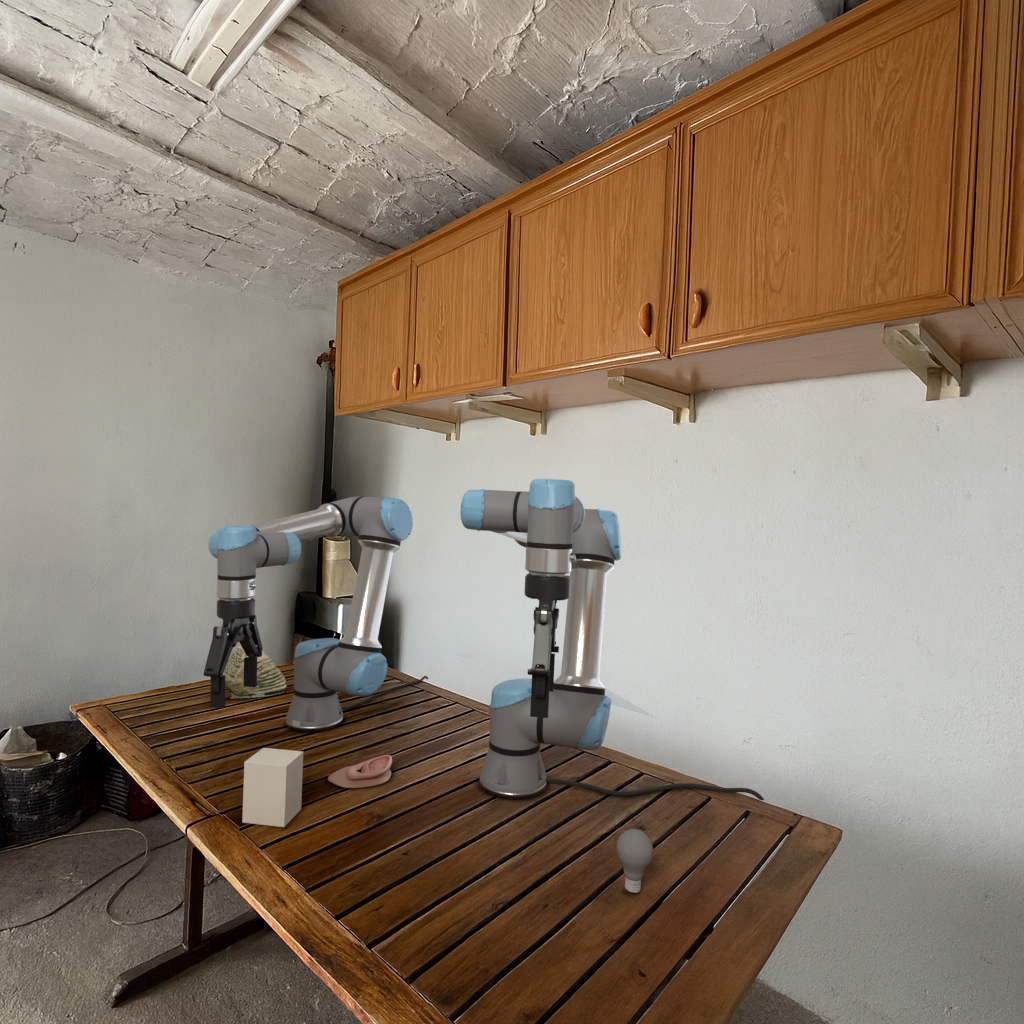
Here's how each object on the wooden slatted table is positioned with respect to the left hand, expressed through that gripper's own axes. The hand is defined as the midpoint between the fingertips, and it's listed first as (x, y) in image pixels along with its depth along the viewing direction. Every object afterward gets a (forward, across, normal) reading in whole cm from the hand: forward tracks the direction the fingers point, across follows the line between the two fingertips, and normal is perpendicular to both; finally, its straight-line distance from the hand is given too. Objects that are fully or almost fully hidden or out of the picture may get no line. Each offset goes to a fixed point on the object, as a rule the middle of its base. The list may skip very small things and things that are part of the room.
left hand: (234, 696), depth 136 cm
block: (+20, -11, -14) cm, 26 cm away
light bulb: (+20, -25, -82) cm, 89 cm away
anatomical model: (+20, +8, -25) cm, 33 cm away
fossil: (+21, +60, +25) cm, 68 cm away
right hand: (-12, -27, -66) cm, 73 cm away
